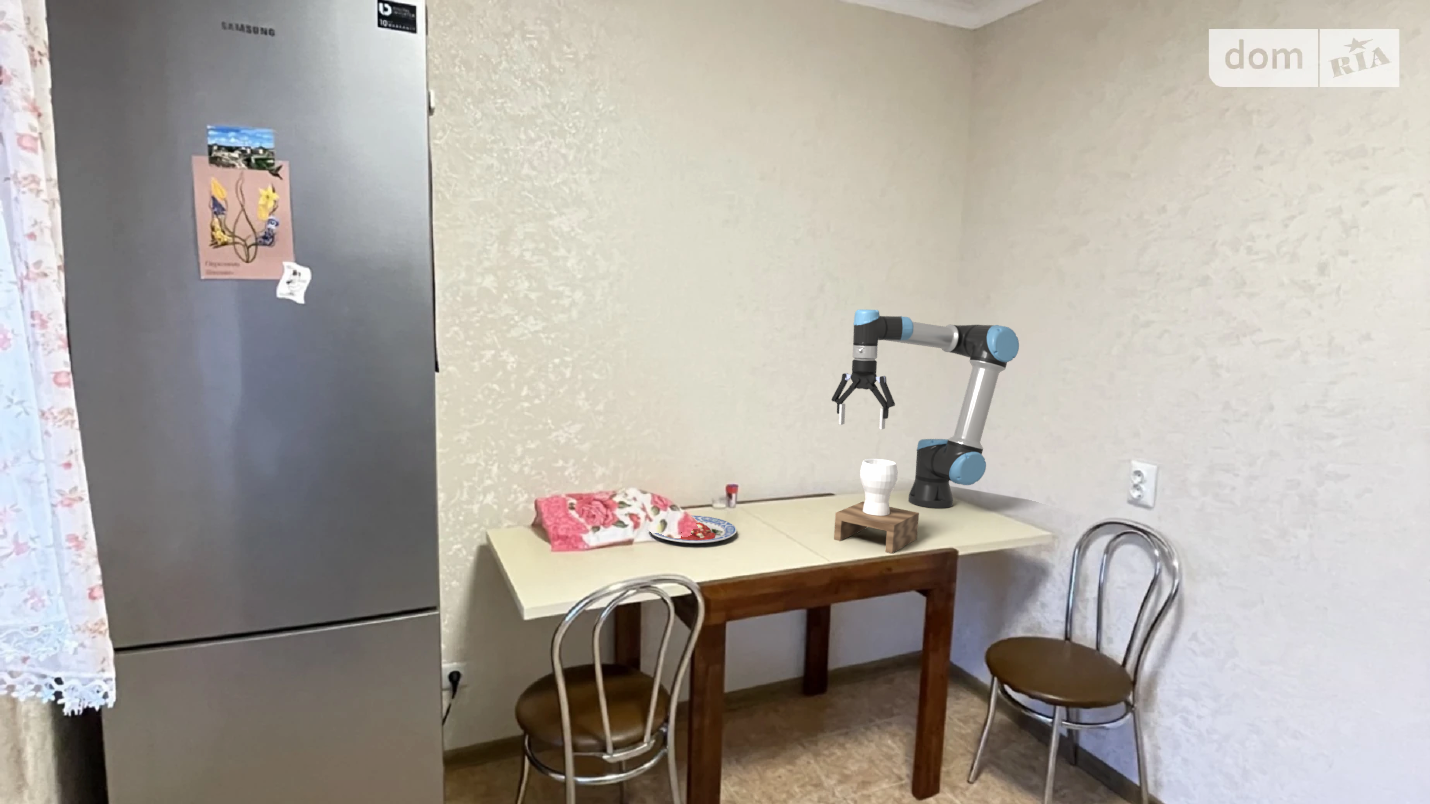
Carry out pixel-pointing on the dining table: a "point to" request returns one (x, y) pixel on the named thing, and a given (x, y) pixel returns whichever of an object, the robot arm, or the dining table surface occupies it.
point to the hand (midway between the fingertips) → (861, 426)
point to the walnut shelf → (878, 525)
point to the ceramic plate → (706, 531)
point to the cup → (878, 485)
